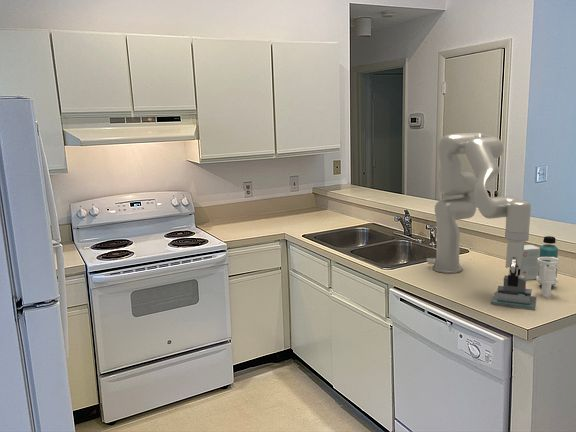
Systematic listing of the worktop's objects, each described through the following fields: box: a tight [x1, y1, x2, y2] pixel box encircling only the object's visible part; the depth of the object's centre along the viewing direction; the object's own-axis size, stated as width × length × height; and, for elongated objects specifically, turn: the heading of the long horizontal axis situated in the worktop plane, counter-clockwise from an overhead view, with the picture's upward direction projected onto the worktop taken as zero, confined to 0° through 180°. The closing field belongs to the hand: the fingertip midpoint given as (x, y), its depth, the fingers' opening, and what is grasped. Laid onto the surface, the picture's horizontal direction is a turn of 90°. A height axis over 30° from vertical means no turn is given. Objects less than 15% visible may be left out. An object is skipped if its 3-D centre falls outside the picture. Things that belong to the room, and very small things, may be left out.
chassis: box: [490, 291, 537, 311], centre depth 176 cm, size 14×11×4 cm
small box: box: [520, 244, 540, 281], centre depth 200 cm, size 8×6×13 cm
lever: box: [496, 275, 533, 296], centre depth 176 cm, size 11×4×9 cm, turn 61°
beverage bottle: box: [538, 235, 559, 287], centre depth 188 cm, size 6×7×20 cm
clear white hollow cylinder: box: [535, 257, 560, 298], centre depth 180 cm, size 7×7×15 cm
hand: (513, 281), depth 176 cm, fingers open, 9 cm apart
